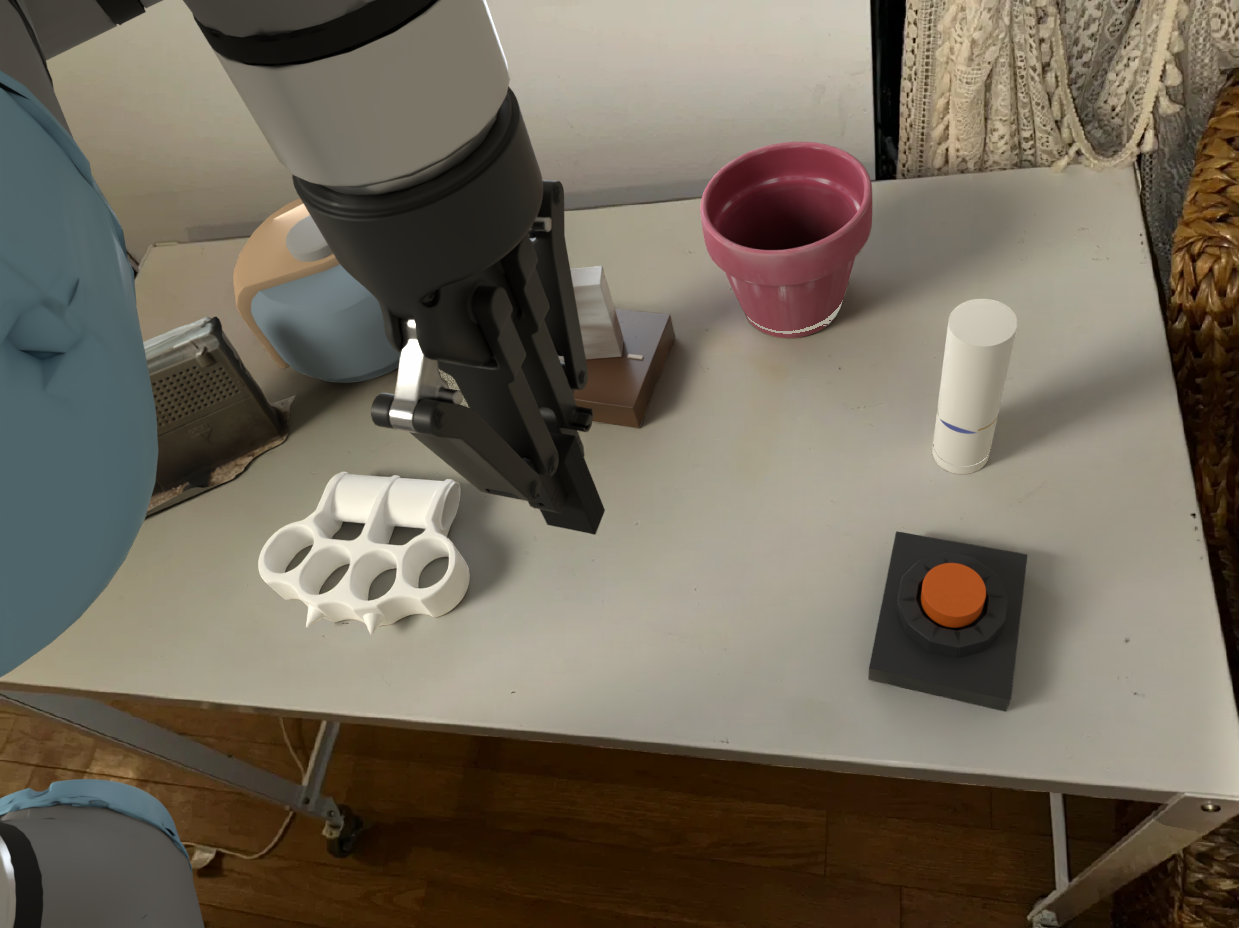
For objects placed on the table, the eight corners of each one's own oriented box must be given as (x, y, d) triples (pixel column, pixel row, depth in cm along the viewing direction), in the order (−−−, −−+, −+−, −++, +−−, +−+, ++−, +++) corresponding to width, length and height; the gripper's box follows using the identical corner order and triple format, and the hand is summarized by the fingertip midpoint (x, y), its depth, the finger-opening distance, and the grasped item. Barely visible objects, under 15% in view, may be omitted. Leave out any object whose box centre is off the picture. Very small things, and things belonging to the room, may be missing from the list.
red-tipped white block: (623, 338, 83) (601, 263, 76) (622, 356, 82) (599, 281, 74) (549, 344, 85) (521, 271, 77) (546, 362, 83) (517, 290, 76)
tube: (976, 424, 74) (1001, 291, 62) (998, 466, 72) (1028, 336, 60) (924, 437, 74) (938, 308, 62) (943, 479, 72) (962, 353, 60)
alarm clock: (336, 245, 105) (284, 157, 95) (487, 266, 97) (448, 173, 88) (243, 372, 95) (174, 289, 86) (401, 406, 88) (347, 319, 78)
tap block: (639, 429, 81) (632, 407, 78) (508, 409, 85) (498, 388, 83) (675, 335, 86) (670, 312, 84) (551, 321, 91) (542, 298, 88)
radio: (295, 395, 92) (213, 288, 80) (306, 457, 87) (220, 353, 75) (76, 483, 91) (-41, 388, 79) (73, 552, 86) (-52, 462, 74)
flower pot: (740, 243, 92) (726, 133, 81) (883, 256, 87) (888, 141, 76) (698, 350, 85) (677, 245, 74) (851, 371, 80) (852, 262, 69)
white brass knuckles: (498, 496, 80) (447, 653, 72) (319, 483, 85) (253, 628, 77) (486, 475, 77) (431, 636, 69) (301, 462, 82) (231, 611, 74)
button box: (1006, 712, 61) (1015, 690, 58) (868, 680, 64) (869, 657, 61) (1022, 568, 66) (1031, 541, 63) (894, 545, 69) (897, 518, 66)
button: (979, 633, 61) (982, 622, 59) (916, 620, 62) (918, 609, 61) (986, 581, 63) (989, 568, 61) (925, 569, 64) (927, 557, 63)
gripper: (388, 5, 33) (555, 409, 52) (188, 259, 26) (461, 614, 45) (579, 2, 30) (681, 428, 49) (409, 283, 24) (601, 649, 43)
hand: (576, 517), depth 47 cm, fingers closed
